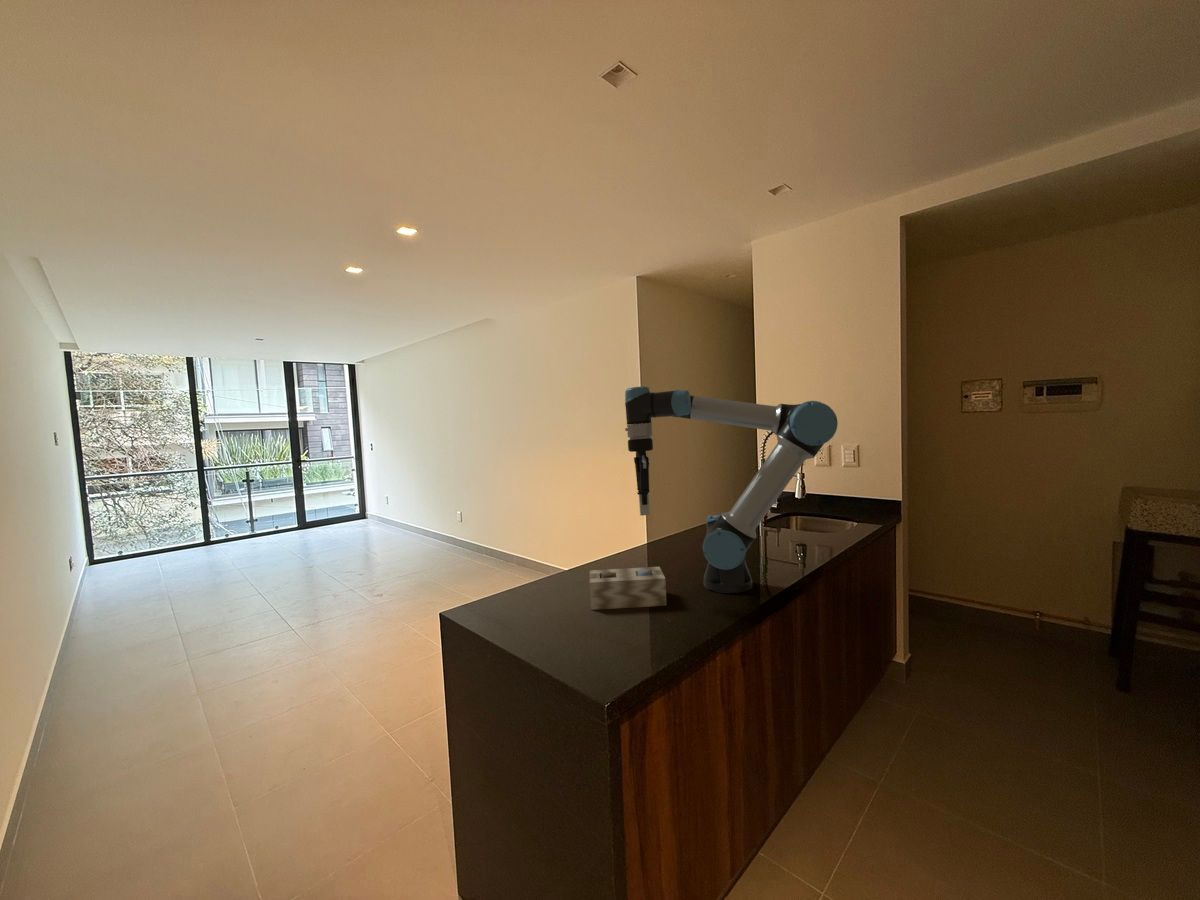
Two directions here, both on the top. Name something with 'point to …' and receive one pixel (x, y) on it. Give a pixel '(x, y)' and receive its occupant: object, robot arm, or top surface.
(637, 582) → the birch block
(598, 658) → the top surface
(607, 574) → the walnut peg
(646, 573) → the blue peg
